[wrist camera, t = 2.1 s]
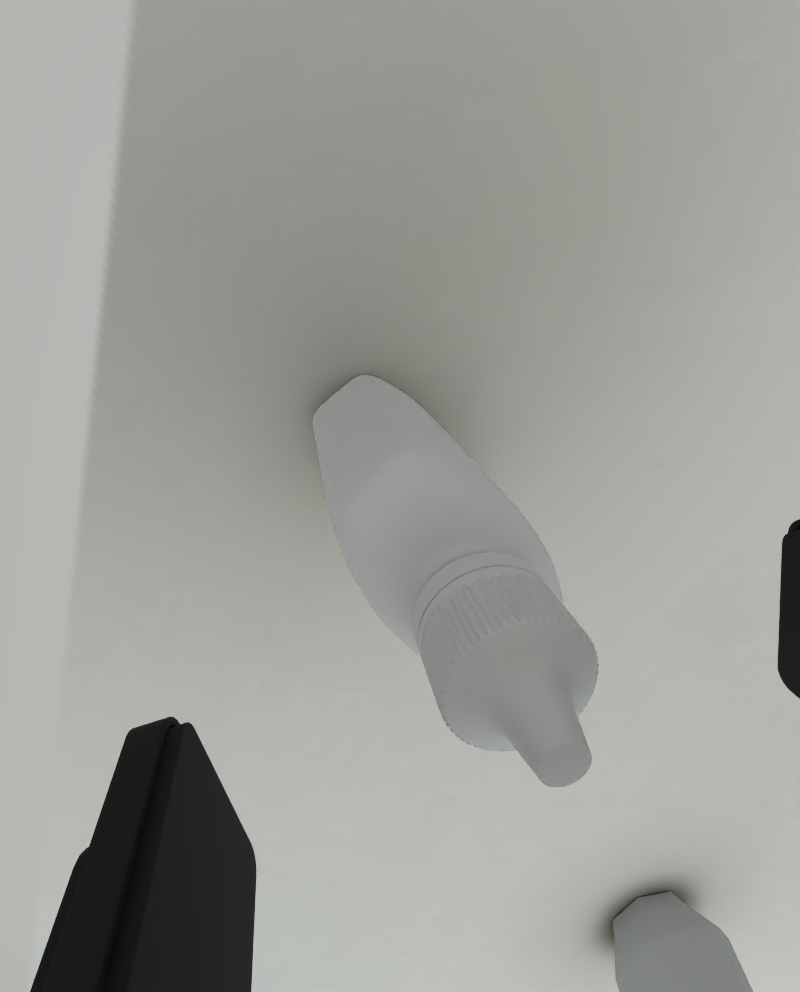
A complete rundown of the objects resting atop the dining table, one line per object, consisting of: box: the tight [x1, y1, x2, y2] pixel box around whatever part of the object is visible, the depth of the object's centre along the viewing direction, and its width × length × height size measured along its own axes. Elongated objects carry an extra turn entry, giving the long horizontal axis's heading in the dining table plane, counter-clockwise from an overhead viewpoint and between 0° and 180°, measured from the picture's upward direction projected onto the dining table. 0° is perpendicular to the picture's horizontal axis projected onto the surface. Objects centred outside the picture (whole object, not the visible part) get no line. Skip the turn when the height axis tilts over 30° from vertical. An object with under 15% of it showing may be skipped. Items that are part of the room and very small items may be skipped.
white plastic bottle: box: [313, 375, 599, 787], centre depth 13 cm, size 4×6×12 cm
